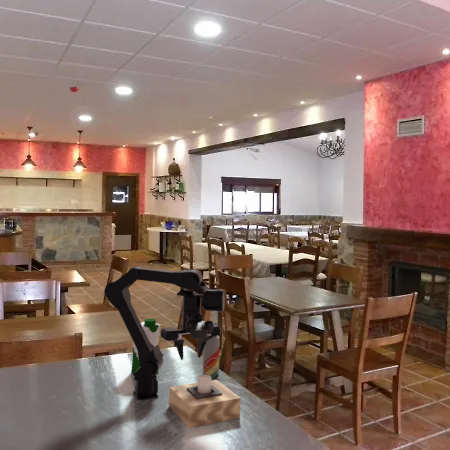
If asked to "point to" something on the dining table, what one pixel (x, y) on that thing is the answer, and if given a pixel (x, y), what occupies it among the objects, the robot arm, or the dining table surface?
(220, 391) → the socket block
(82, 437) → the dining table surface
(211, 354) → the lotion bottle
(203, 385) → the dowel
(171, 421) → the dining table surface
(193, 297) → the robot arm
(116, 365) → the dining table surface
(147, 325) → the milk carton
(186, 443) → the dining table surface
